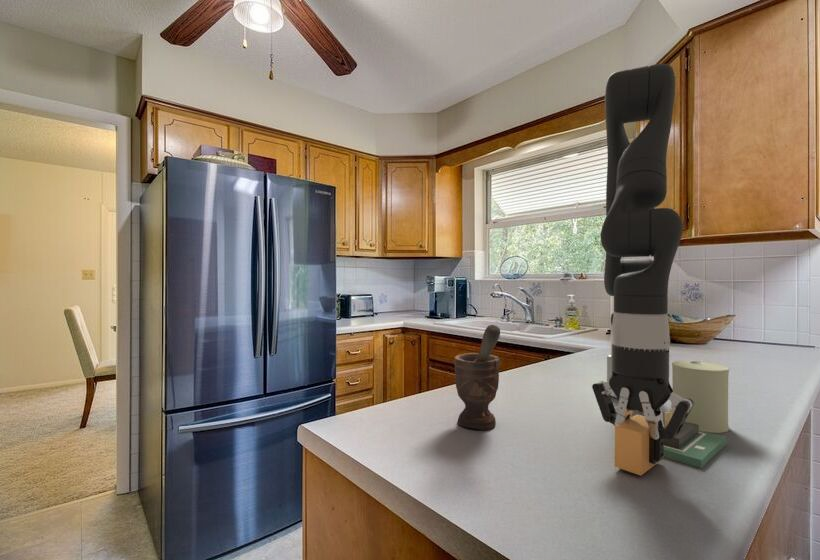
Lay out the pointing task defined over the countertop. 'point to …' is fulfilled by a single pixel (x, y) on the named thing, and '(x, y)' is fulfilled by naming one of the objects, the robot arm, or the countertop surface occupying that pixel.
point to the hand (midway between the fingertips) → (639, 456)
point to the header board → (692, 444)
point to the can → (703, 393)
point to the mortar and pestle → (478, 382)
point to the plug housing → (633, 445)
